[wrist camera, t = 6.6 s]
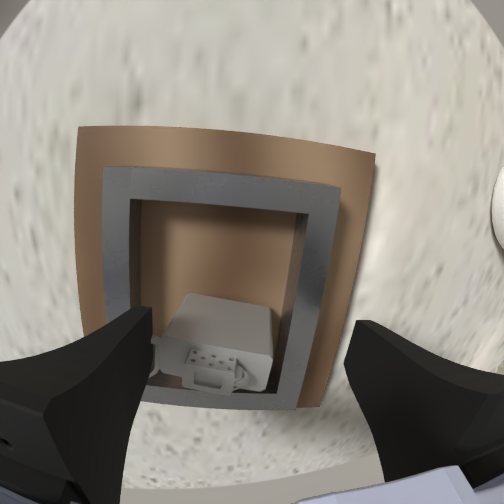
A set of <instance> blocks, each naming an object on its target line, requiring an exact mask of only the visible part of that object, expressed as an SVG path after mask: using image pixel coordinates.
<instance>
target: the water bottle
mask: <svg viewBox="0 0 504 504" xmlns="http://www.w3.org/2000/svg"><path fill="white" fill-rule="evenodd" d="M492 223H493V228H494V232H495V235H496V238H497V240H498V242H499V244H500V245H501V246H502V248H503V249H504V167H503V168H502V170H501V171H500V173H499V175H498V178H497V181H496V183H495V187H494V191H493V197H492Z"/></svg>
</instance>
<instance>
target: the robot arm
mask: <svg viewBox="0 0 504 504" xmlns="http://www.w3.org/2000/svg"><path fill="white" fill-rule="evenodd" d="M152 335H153V322H152V307H144V306H134V307H132V308H131V309H129V310H128V311H126V312H124V313H123V314H121V315H120V316H118V317H117V318H115V319H114V320H112V321H111V322H109V323H108V324H106V325H104V326H103V327H101V328H99V329H98V330H96V331H94V332H92V333H90V334H89V335H87V336H85V337H83V338H81V339H79V340H77V341H75V342H73V343H70V344H68V345H66V346H63V347H61V348H58V349H55V350H52V351H49V352H46V353H42V354H39V355H36V356H32V357H27V358H23V359H17V360H11V361H4V362H0V504H119V503H120V494H121V485H122V477H123V470H124V464H125V457H126V452H127V446H128V441H129V436H130V431H131V428H132V424H133V421H134V418H135V415H136V412H137V409H138V406H139V404H140V401H141V398H142V395H143V393H144V390H145V387H146V384H147V381H148V378H149V375H150V371H151V366H152V361H153V343H152V344H151V338H152ZM344 367H345V370H346V374H347V377H348V381H349V384H350V386H351V388H352V391H353V393H354V395H355V397H356V399H357V401H358V403H359V405H360V408H361V410H362V412H363V414H364V416H365V418H366V420H367V422H368V425H369V427H370V429H371V432H372V434H373V438H374V441H375V444H376V447H377V451H378V454H379V458H380V462H381V466H382V470H383V475H384V480H385V483H381V484H377V485H372V486H367V487H362V488H357V489H351V490H345V491H338V492H331V493H327V494H323V495H319V496H314V497H310V498H305V499H301V500H299V501H297V502H294V503H292V504H504V375H502V374H496V373H491V372H486V371H481V370H477V369H474V368H470V367H467V366H463V365H460V364H457V363H455V362H452V361H450V360H447V359H445V358H442V357H440V356H437V355H435V354H433V353H431V352H429V351H427V350H425V349H423V348H421V347H419V346H417V345H416V344H414V343H412V342H410V341H408V340H407V339H405V338H403V337H401V336H400V335H398V334H396V333H394V332H393V331H391V330H389V329H387V328H386V327H384V326H382V325H380V324H378V323H376V322H373V321H371V320H356V323H355V326H354V330H353V333H352V337H351V340H350V344H349V347H348V350H347V354H346V357H345V360H344Z"/></svg>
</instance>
